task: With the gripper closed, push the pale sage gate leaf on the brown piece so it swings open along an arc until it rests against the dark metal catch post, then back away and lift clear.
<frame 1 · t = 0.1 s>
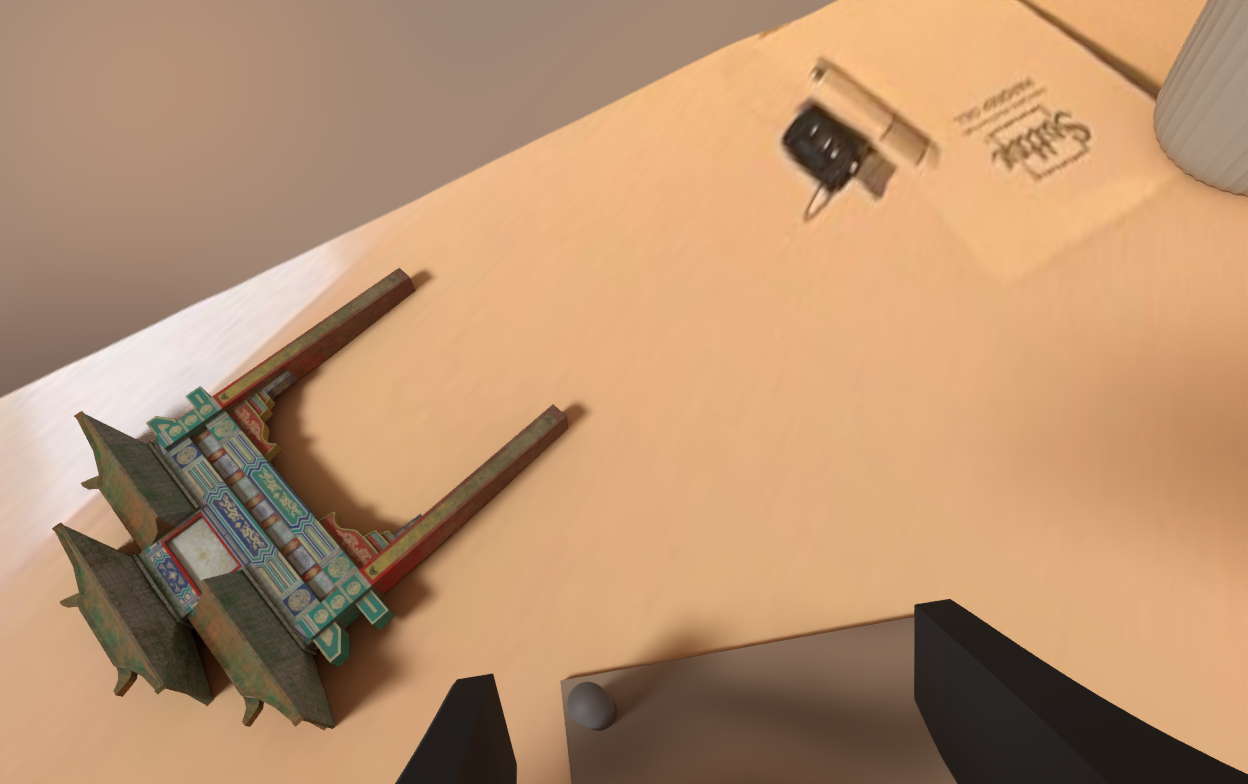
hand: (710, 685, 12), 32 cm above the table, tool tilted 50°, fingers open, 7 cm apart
canister: (1229, 148, 58), on the table
miniature gate: (323, 491, 50), on the table
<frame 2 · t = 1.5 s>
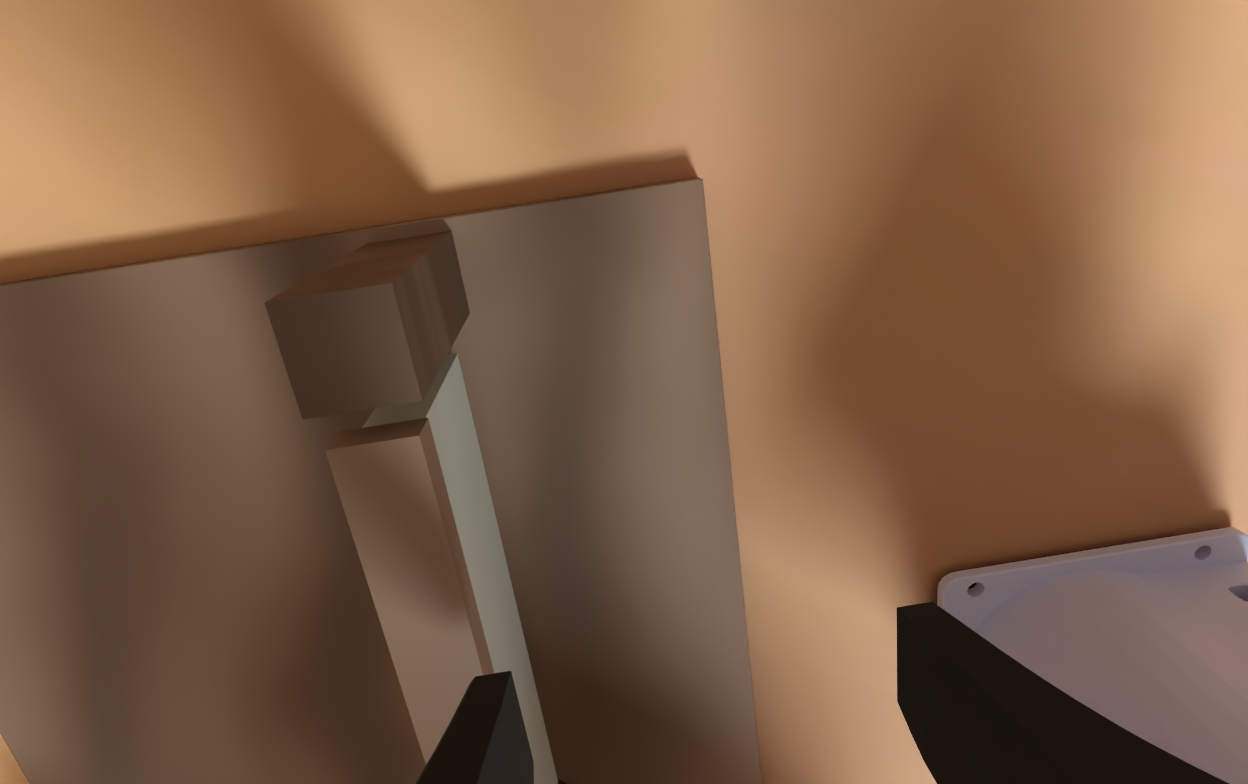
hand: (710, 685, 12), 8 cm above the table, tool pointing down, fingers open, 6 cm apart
brown piece: (372, 632, 21), on the table
gate leaf: (480, 666, 17), point 4 cm above the table, hinge at 0.0°
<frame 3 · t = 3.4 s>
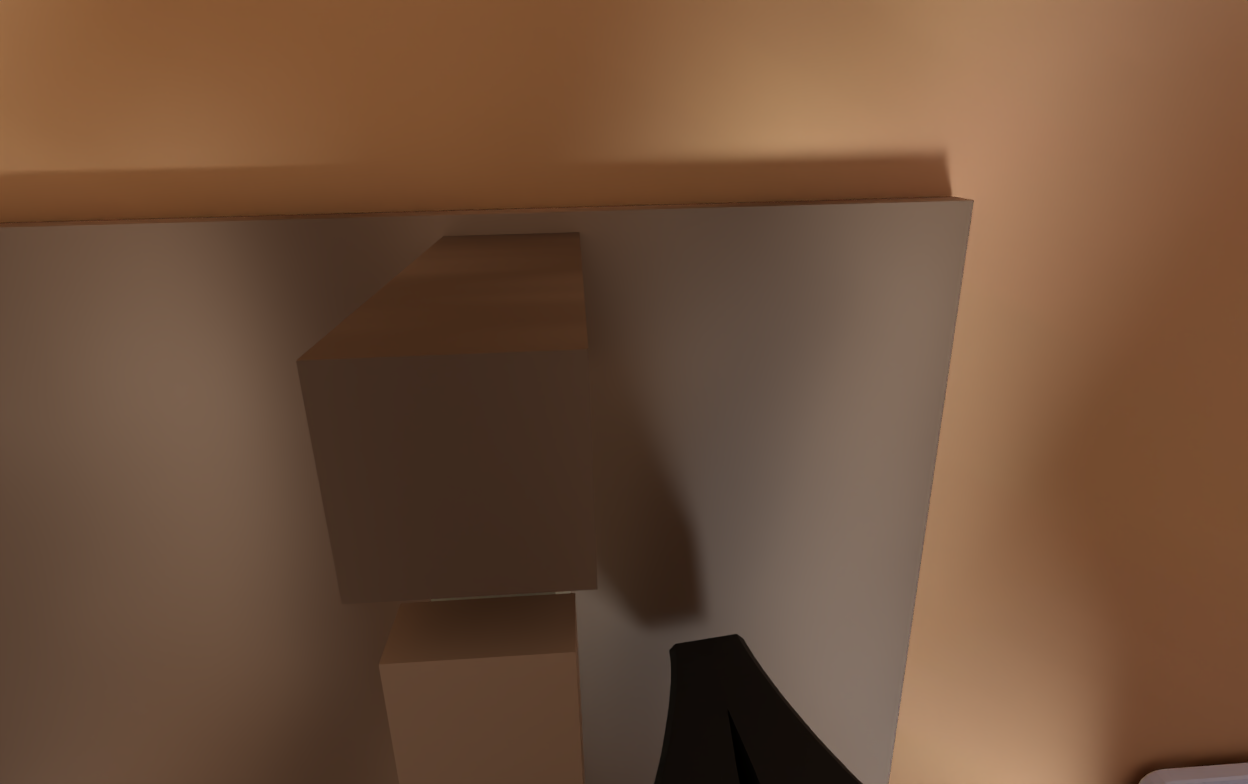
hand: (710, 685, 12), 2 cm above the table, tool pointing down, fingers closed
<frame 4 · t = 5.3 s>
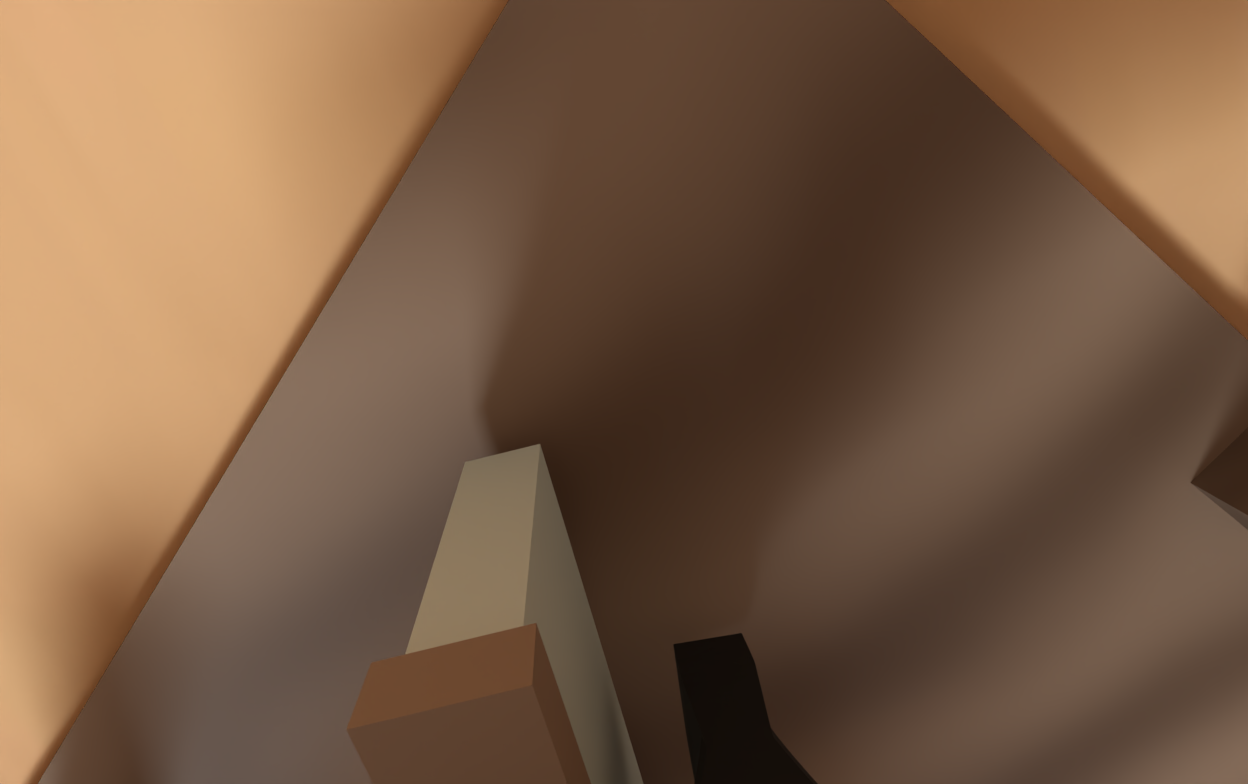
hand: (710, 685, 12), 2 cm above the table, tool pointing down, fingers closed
brown piece: (738, 726, 15), on the table
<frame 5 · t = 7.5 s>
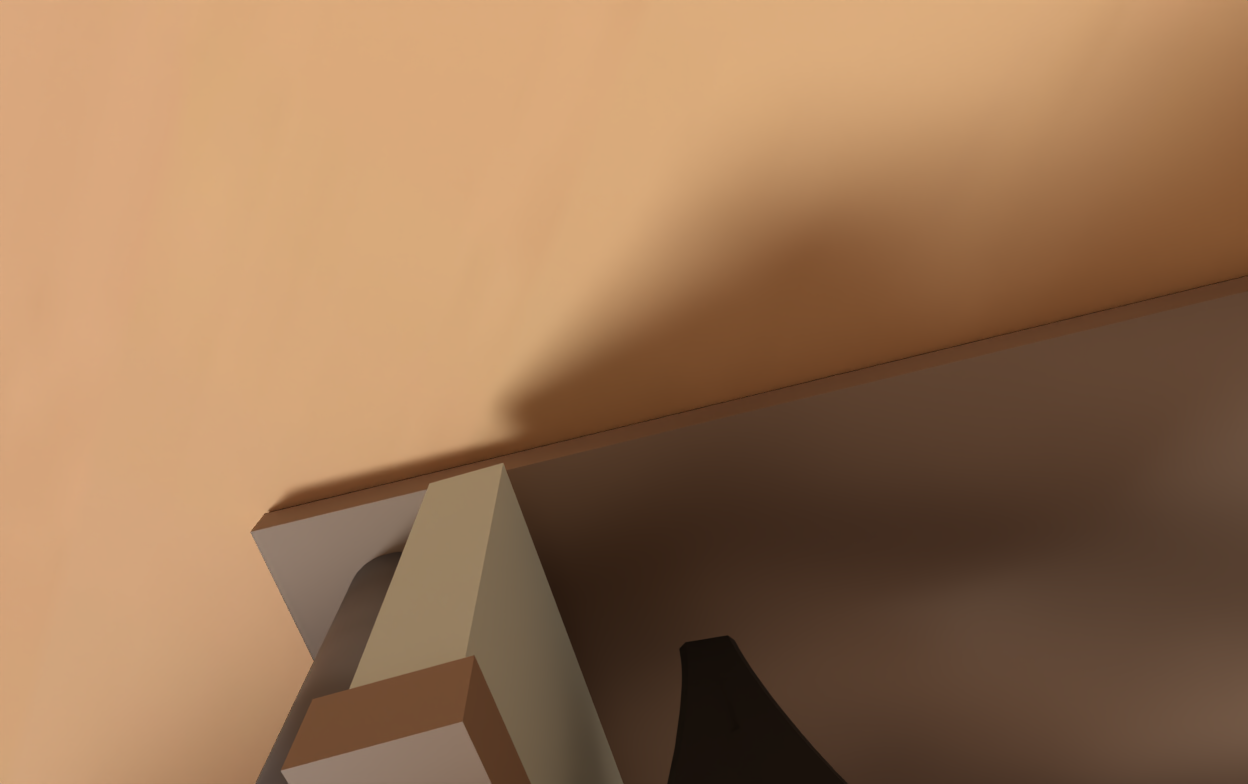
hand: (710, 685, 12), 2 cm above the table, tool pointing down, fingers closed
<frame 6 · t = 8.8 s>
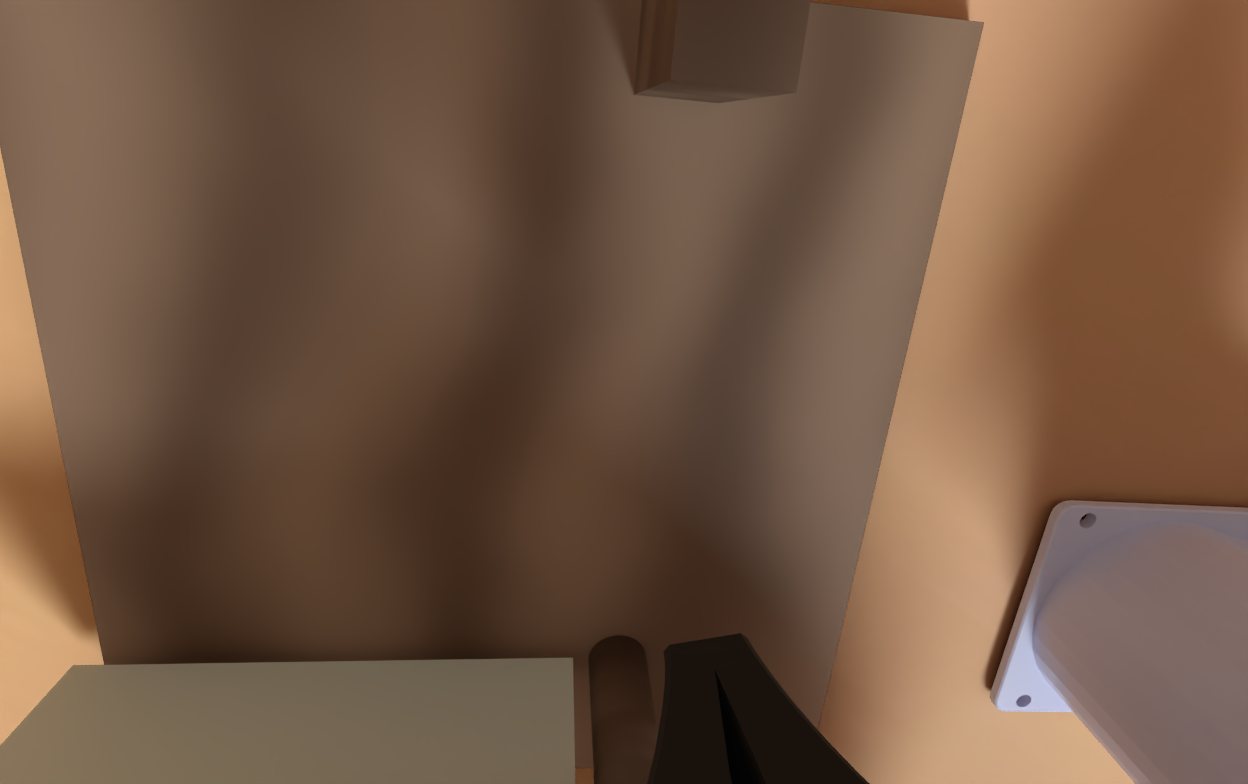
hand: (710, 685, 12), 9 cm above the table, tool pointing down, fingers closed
brown piece: (494, 439, 20), on the table
gate leaf: (301, 753, 18), point 4 cm above the table, hinge at 92.2°
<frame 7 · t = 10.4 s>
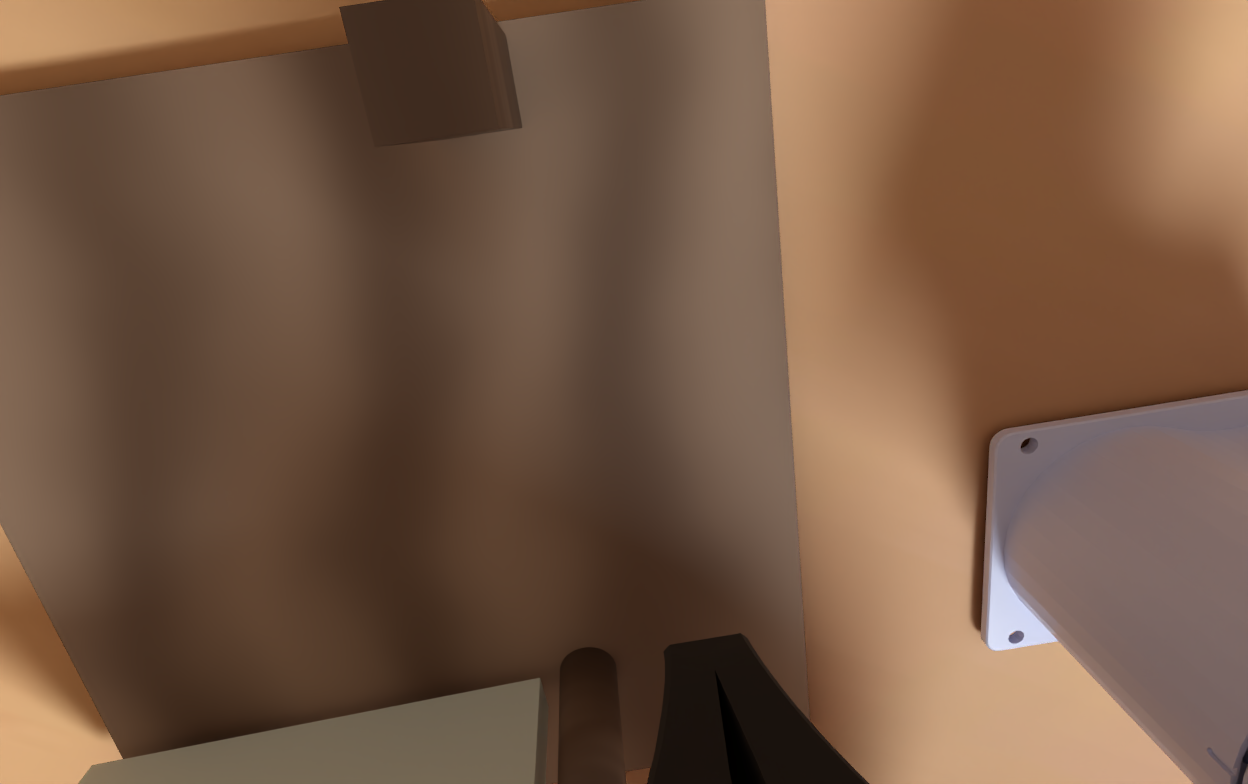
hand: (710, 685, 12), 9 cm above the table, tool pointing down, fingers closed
brown piece: (413, 488, 21), on the table
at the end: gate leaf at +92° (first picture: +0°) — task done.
